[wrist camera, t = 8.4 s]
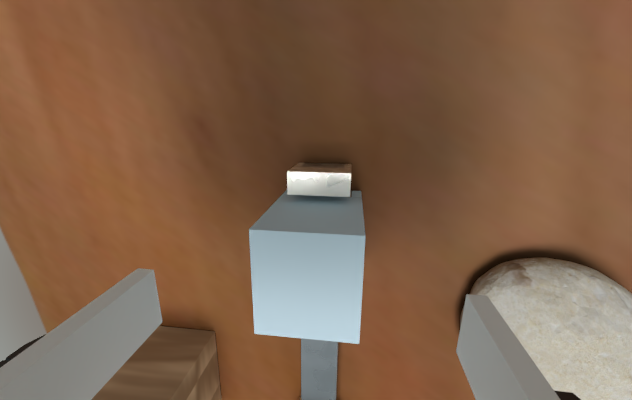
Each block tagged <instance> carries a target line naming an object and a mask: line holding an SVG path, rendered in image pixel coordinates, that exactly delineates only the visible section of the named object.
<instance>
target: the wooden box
mask: <svg viewBox="0 0 632 400" xmlns="http://www.w3.org/2000/svg"><path fill="white" fill-rule="evenodd" d="M91 400H221V390H220V379H219V368H218V358H217V347H216V337H215V331H206V330H196V329H186V328H176V327H165V326H158V327H157V329H156V330H155V331H154V332H153V333H152V334H151V335H150V336H149V337H148V338H147V339H146V341H145V342H144V343H143V344H142V345H141V346H140V347H139V348H138V349H137V350H136V351H135V353H134V354H133V355H132V356H131V357H130V358H129V359H128V360H127V361H126V362H125V363H124V365H123V366H122V367H121V368H120V369H119V370H118V371H117V372H116V373H115V374H114V375H113V377H112V378H111V379H110V380H109V381H108V382H107V383H106V384H105V385H104V386H103V387H102V389H101V390H100V391H99V392H98V393H97V394H96V395H95V396H94V397H93V398H92V399H91Z"/></svg>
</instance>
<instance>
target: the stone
mask: <svg viewBox="0 0 632 400" xmlns="http://www.w3.org/2000/svg"><path fill="white" fill-rule="evenodd" d="M470 295H482V296H488V298H489V299H490V300H491V302H492V303H493V305H494V306H495V308H496V309H497V310H498V312H499V313H500V315H501V316H502V317H503V319H504V320H505V322H506V323H507V325H508V326H509V327H510V329H511V330H512V332H513V333H514V334H515V336H516V337H517V339H518V340H519V342H520V343H521V344H522V346H523V347H524V349H525V350H526V352H527V353H528V354H529V356H530V357H531V359H532V360H533V361H534V363H535V364H536V366H537V367H538V369H539V370H540V371H541V373H542V374H543V376H544V377H545V379H546V380H547V381H548V383H549V384H550V386H551V387H552V388H553V390H554V391H562V392H571V393H574V394H575V395H576V396H577V397H578V398H580V399H581V400H632V294H631V293H630V292H629V291H628V290H626V289H625V288H624V287H622V286H621V285H619V284H618V283H616V282H615V281H613V280H612V279H610V278H608V277H607V276H605V275H603V274H602V273H600V272H598V271H596V270H594V269H592V268H590V267H587V266H584V265H580V264H577V263H574V262H570V261H565V260H559V259H552V258H546V257H535V258H522V259H515V260H511V261H507V262H503V263H501V264H498V265H497V266H495V267H493V268H492V269H490V270H489V271H487V272H486V273H485V274H484V275H482V276H481V277H479V278H478V279H477V280H476V282H475V283H474V285H473V287H472V289H471V292H470ZM463 310H464V307H463V309H462V312H461V322H462V316H463Z"/></svg>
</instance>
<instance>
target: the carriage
mask: <svg viewBox="0 0 632 400" xmlns="http://www.w3.org/2000/svg"><path fill="white" fill-rule="evenodd" d="M249 240H250V259H251V277H252V296H253V315H254V333H255V334H262V335H273V336H283V337H293V338H303V339H314V340H324V341H334V342H345V343H355V344H359V339H360V322H361V304H362V287H363V270H364V252H365V226H364V216H363V205H362V195H361V191H352V197H334V196H309V195H287V190H286V191H285V192H284V193H283V194H282V195H281V196H280V197H279V198H278V199H277V200H276V202H275V203H274V204H273V205H272V206H271V207H270V208H269V209H268V210H267V211H266V212H265V213H264V214H263V215H262V216H261V217H260V218H259V219H258V220H257V222H256V223H255V224H254V225H253V226H252V227H251V228H250V229H249Z"/></svg>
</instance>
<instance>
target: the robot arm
mask: <svg viewBox="0 0 632 400" xmlns="http://www.w3.org/2000/svg"><path fill="white" fill-rule="evenodd" d="M161 323H162V316H161V310H160V304H159V298H158V292H157V287H156V281H155V275H154V270H151V269H136V270H135V271H134V272H132V273H131V274H129V275H128V276H127V277H125V278H124V279H122V280H121V281H120V282H118V283H117V284H116V285H114V286H113V287H111V288H110V289H109V290H107V291H106V292H104V293H103V294H102V295H100V296H99V297H98V298H96V299H95V300H93V301H92V302H91V303H89V304H88V305H86V306H85V307H84V308H82V309H81V310H80V311H78V312H77V313H75V314H74V315H73V316H71V317H70V318H68V319H67V320H66V321H64V322H63V323H62V324H60V325H59V326H57V327H56V328H55V329H53V330H52V331H50V332H49V333H48V334H45V335H43V336H41V337H39V338H37V339H35V340H33V341H31V342H29V343H27V344H25V345H24V346H22V347H21V348H19V349H18V350H17V351H15V352H14V353H12V354H11V355H9V356H8V357H7V358H6V360H5V361H1V362H0V400H91V399H92V398H93V397H94V396H95V395H96V394H97V393H98V392H99V391H100V390H101V389H102V387H103V386H104V385H105V384H106V383H107V382H108V381H109V380H110V379H111V378H112V377H113V375H114V374H115V373H116V372H117V371H118V370H119V369H120V368H121V367H122V366H123V365H124V363H125V362H126V361H127V360H128V359H129V358H130V357H131V356H132V355H133V354H134V353H135V351H136V350H137V349H138V348H139V347H140V346H141V345H142V344H143V343H144V342H145V341H146V339H147V338H148V337H149V336H150V335H151V334H152V333H153V332H154V331H155V330H156V329H157V327H158V326H159V325H160V324H161ZM456 353H457V355H458V357H459V360H460V362H461V365H462V367H463V369H464V372H465V374H466V377H467V379H468V382H469V384H470V386H471V389H472V391H473V394H474V396H475V399H476V400H581V399H580V398H578V397H577V396H576V395H575V394H574V393H571V392H562V391H554V390H553V388H552V387H551V386H550V384H549V383H548V381H547V380H546V379H545V377H544V376H543V374H542V373H541V371H540V370H539V369H538V367H537V366H536V364H535V363H534V361H533V360H532V359H531V357H530V356H529V354H528V353H527V352H526V350H525V349H524V347H523V346H522V344H521V343H520V342H519V340H518V339H517V337H516V336H515V334H514V333H513V332H512V330H511V329H510V327H509V326H508V325H507V323H506V322H505V320H504V319H503V317H502V316H501V315H500V313H499V312H498V310H497V309H496V308H495V306H494V305H493V303H492V302H491V300H490V299H489V298H488V296H482V295H470V294H466V299H465V305H464V310H463V316H462V322H461V327H460V333H459V339H458V344H457V350H456Z"/></svg>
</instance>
